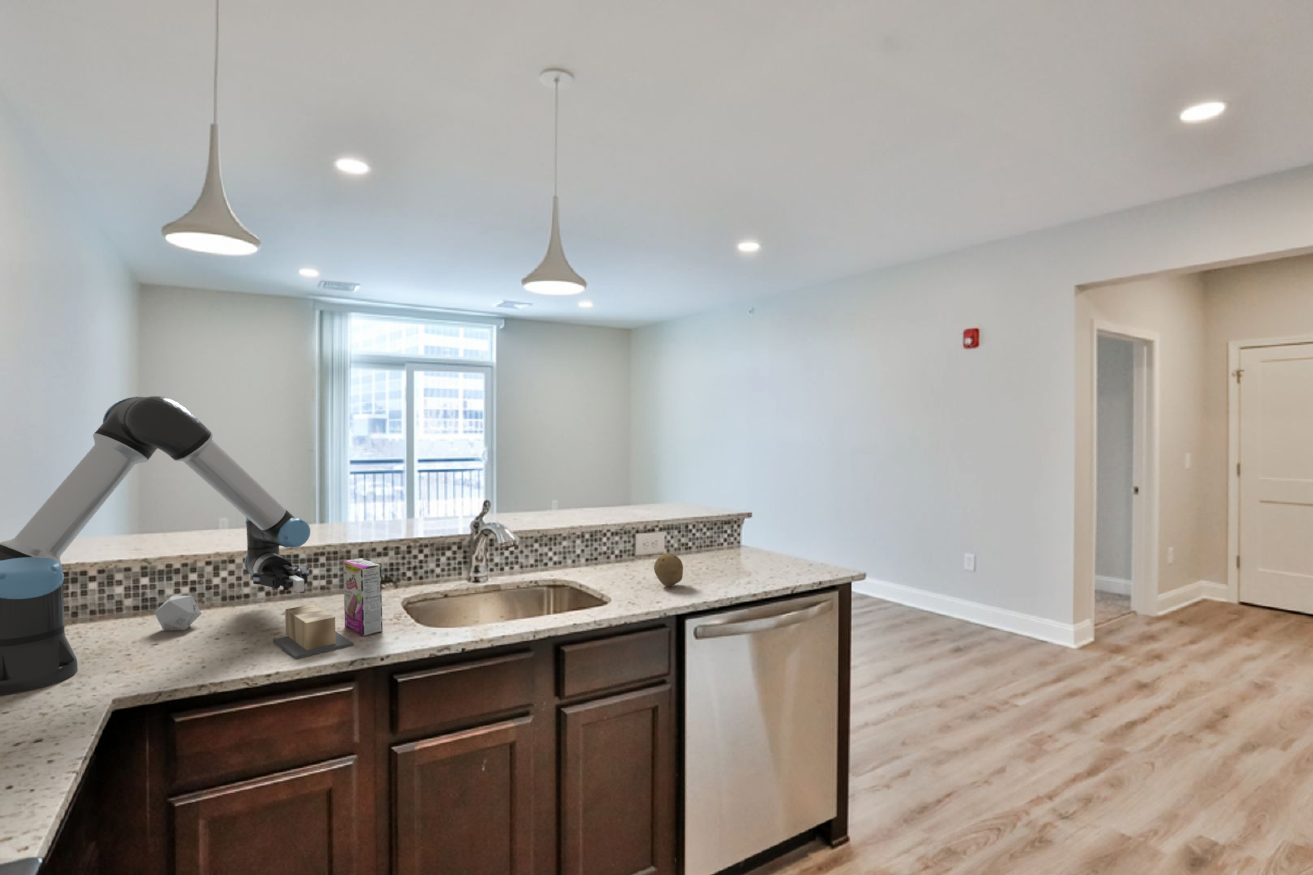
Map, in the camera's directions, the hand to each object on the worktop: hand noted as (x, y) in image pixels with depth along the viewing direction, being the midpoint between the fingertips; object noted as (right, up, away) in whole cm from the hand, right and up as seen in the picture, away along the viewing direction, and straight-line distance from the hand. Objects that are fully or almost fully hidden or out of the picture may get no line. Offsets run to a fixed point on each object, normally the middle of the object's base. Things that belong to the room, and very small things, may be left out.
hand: (300, 586), depth 155 cm
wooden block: (-1, -8, +1) cm, 8 cm away
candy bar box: (+13, -12, +4) cm, 18 cm away
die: (-33, -12, +6) cm, 36 cm away
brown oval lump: (+88, -10, +43) cm, 98 cm away
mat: (+6, -12, -5) cm, 14 cm away
